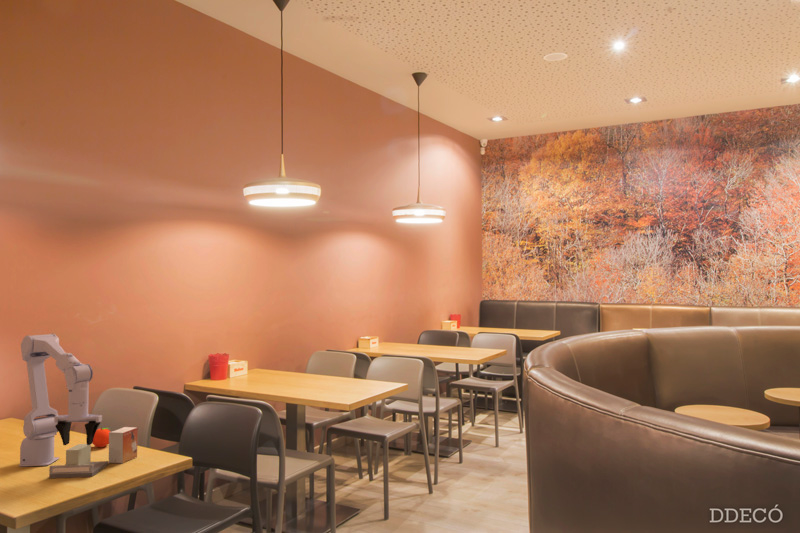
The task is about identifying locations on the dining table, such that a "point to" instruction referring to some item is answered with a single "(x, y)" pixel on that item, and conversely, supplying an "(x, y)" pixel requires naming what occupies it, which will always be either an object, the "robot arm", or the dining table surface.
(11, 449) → the dining table surface
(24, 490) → the dining table surface
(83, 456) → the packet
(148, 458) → the dining table surface
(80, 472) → the grey square slab
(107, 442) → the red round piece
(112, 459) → the small box
